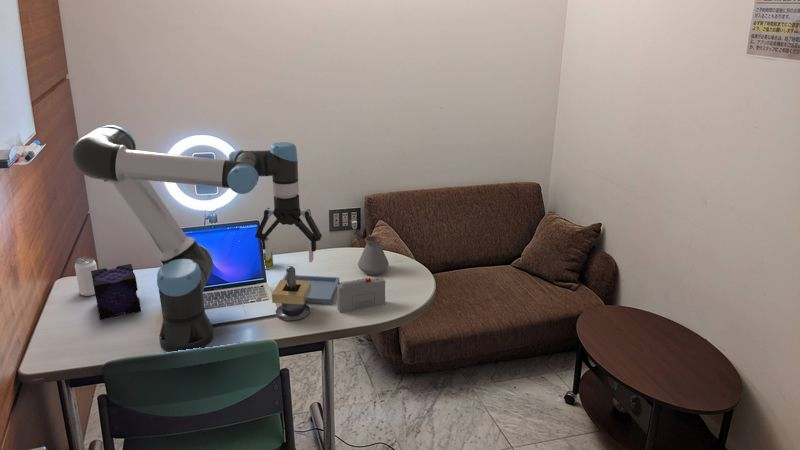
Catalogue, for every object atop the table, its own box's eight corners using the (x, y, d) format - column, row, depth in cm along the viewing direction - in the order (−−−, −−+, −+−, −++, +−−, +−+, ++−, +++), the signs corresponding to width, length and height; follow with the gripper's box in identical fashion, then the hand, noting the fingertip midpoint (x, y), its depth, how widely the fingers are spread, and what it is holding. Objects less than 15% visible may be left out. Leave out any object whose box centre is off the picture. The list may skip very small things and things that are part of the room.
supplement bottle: (268, 262, 228) (266, 239, 225) (276, 267, 224) (274, 243, 221) (256, 266, 225) (254, 243, 221) (263, 271, 221) (261, 247, 218)
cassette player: (382, 301, 201) (382, 274, 197) (385, 304, 198) (385, 277, 195) (337, 309, 195) (336, 281, 192) (339, 313, 193) (339, 285, 189)
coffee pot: (391, 276, 219) (392, 238, 213) (360, 278, 216) (360, 240, 211) (380, 253, 238) (380, 218, 233) (351, 255, 236) (351, 220, 230)
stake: (305, 322, 187) (303, 275, 181) (271, 320, 188) (268, 273, 182) (313, 305, 197) (311, 260, 191) (281, 303, 198) (278, 258, 192)
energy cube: (136, 296, 202) (131, 263, 197) (141, 311, 192) (135, 277, 188) (97, 303, 196) (90, 270, 192) (100, 320, 186) (93, 285, 182)
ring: (303, 304, 185) (303, 295, 184) (272, 302, 186) (271, 294, 185) (312, 286, 197) (312, 278, 196) (283, 284, 197) (282, 276, 196)
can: (85, 298, 199) (79, 265, 195) (76, 292, 203) (69, 260, 199) (104, 291, 204) (98, 259, 200) (95, 286, 208) (89, 254, 204)
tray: (330, 304, 198) (330, 299, 197) (272, 301, 199) (272, 296, 199) (339, 282, 213) (339, 277, 212) (285, 279, 215) (285, 274, 214)
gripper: (329, 192, 181) (331, 256, 188) (249, 189, 183) (254, 252, 190) (325, 200, 174) (327, 266, 181) (241, 196, 176) (246, 262, 183)
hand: (289, 259), depth 186 cm, fingers open, 13 cm apart
